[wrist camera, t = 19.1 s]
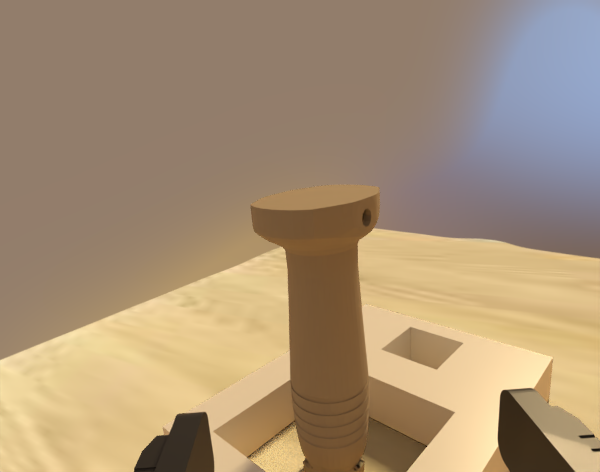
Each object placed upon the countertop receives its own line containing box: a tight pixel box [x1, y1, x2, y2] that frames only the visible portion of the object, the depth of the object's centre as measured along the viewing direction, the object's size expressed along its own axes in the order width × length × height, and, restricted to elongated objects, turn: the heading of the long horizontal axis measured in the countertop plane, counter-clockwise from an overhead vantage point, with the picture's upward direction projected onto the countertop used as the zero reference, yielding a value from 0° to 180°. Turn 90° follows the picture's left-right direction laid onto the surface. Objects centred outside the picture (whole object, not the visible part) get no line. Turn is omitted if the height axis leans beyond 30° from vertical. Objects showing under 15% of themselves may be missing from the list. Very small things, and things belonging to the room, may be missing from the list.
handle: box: [251, 185, 380, 472], centre depth 21 cm, size 5×6×15 cm
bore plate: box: [163, 304, 553, 472], centre depth 25 cm, size 19×14×3 cm
